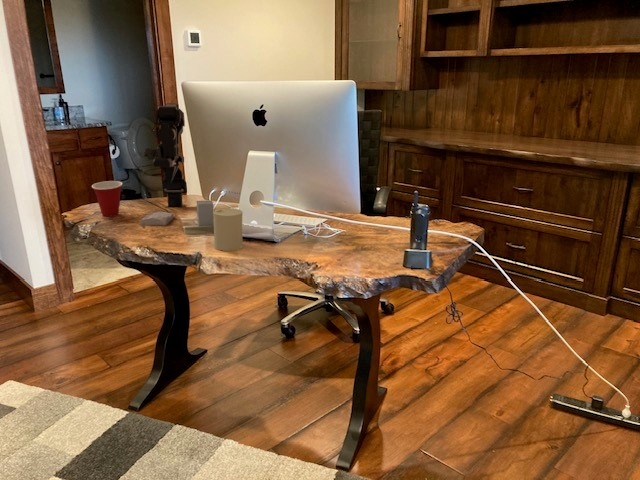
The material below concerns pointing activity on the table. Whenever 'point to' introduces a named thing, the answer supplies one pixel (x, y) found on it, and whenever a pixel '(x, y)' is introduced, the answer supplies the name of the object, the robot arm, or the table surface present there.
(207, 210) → the slate block
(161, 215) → the stone block
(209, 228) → the trap board
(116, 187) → the plastic cup
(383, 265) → the table surface
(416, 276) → the table surface
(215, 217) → the can
